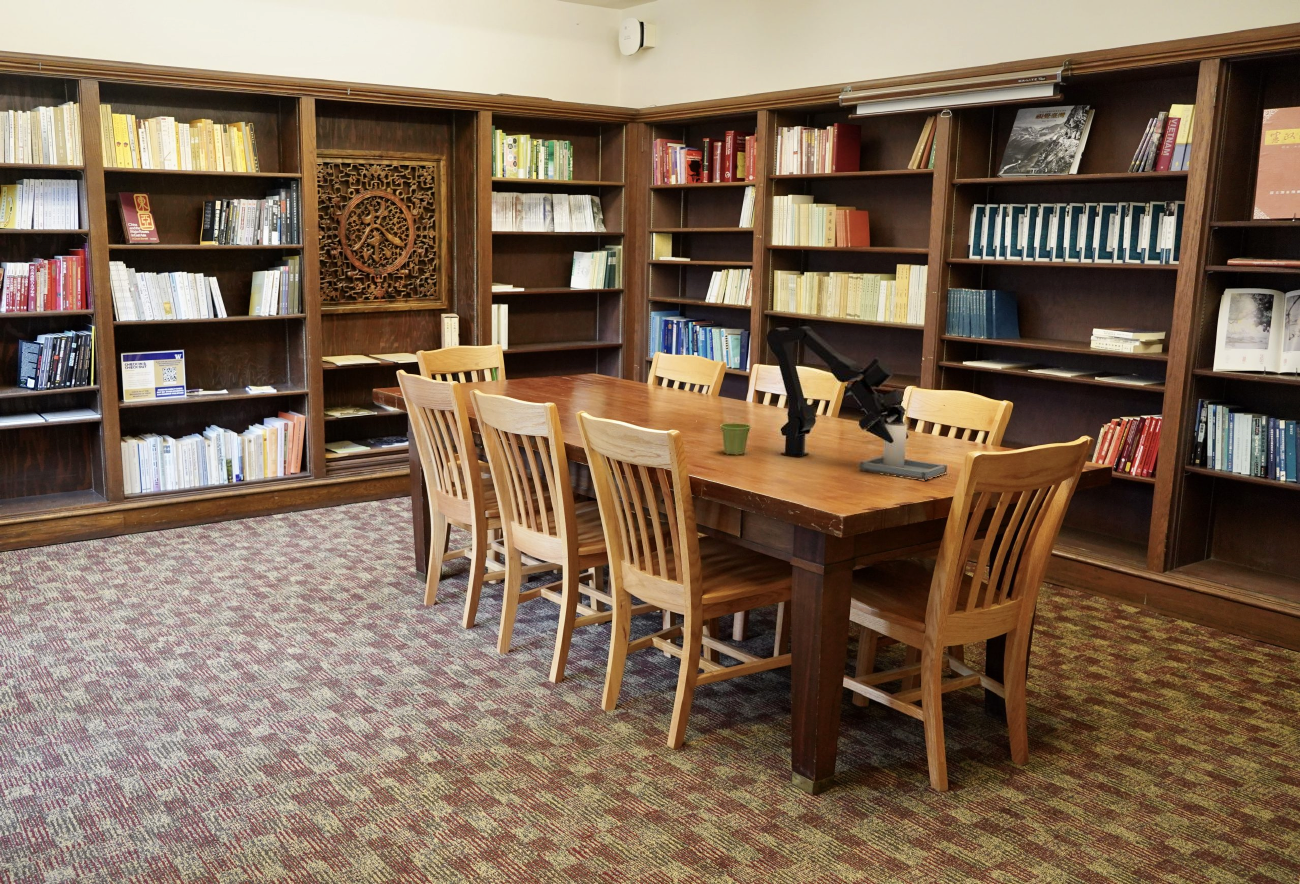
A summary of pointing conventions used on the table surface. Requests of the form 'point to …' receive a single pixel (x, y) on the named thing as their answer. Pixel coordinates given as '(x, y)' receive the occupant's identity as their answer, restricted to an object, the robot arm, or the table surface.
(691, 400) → the table surface
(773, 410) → the table surface
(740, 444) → the plant pot
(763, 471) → the table surface
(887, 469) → the tray
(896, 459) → the pencil cup
